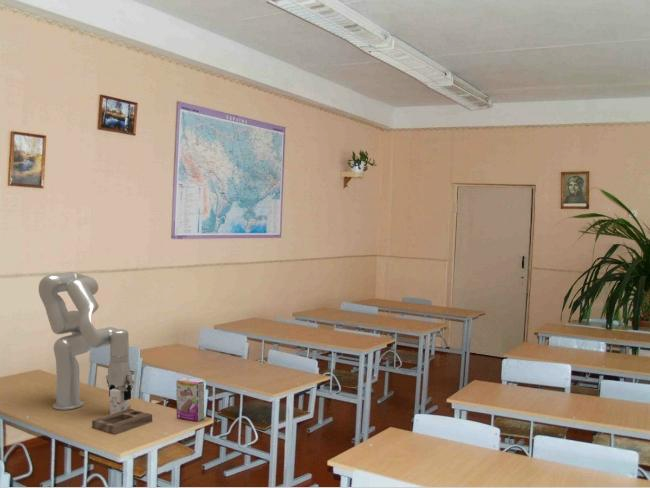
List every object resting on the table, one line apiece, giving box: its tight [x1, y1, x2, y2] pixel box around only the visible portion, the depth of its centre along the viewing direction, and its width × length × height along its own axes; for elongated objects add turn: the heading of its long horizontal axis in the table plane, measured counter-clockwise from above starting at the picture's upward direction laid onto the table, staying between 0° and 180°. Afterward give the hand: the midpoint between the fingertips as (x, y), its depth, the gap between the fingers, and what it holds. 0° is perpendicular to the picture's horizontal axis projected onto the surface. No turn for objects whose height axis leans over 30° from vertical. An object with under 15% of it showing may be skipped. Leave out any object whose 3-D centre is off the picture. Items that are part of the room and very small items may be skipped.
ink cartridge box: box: [109, 384, 131, 415], centre depth 275 cm, size 9×5×15 cm, turn 168°
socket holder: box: [91, 408, 153, 435], centre depth 263 cm, size 14×19×3 cm
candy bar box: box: [176, 377, 205, 422], centre depth 270 cm, size 11×5×16 cm, turn 65°
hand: (119, 397), depth 275 cm, fingers open, 9 cm apart
